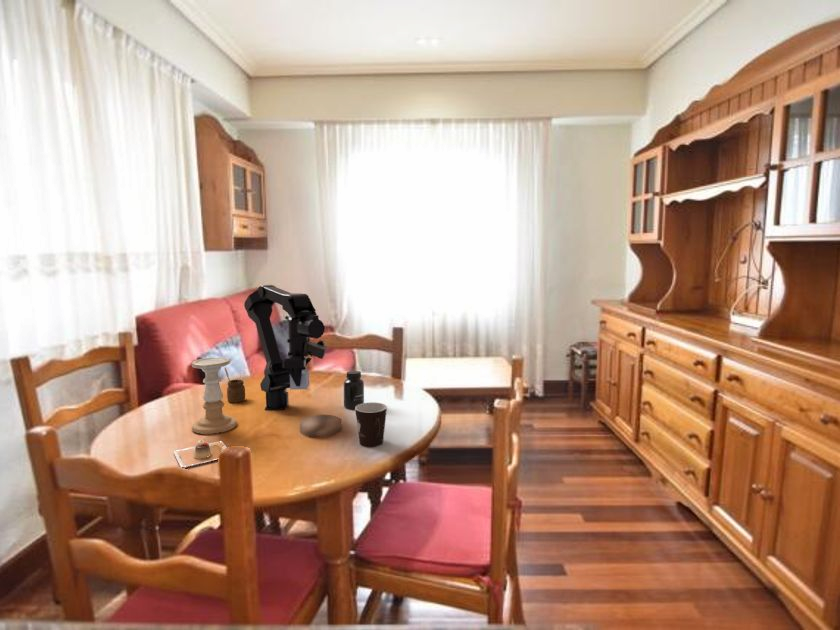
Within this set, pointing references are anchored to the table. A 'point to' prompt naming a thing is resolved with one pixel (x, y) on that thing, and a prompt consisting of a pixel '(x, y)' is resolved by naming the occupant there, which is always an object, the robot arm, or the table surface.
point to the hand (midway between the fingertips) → (299, 383)
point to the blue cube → (304, 381)
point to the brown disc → (320, 425)
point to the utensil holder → (235, 390)
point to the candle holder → (213, 398)
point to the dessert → (198, 452)
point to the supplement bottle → (353, 390)
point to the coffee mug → (371, 423)
